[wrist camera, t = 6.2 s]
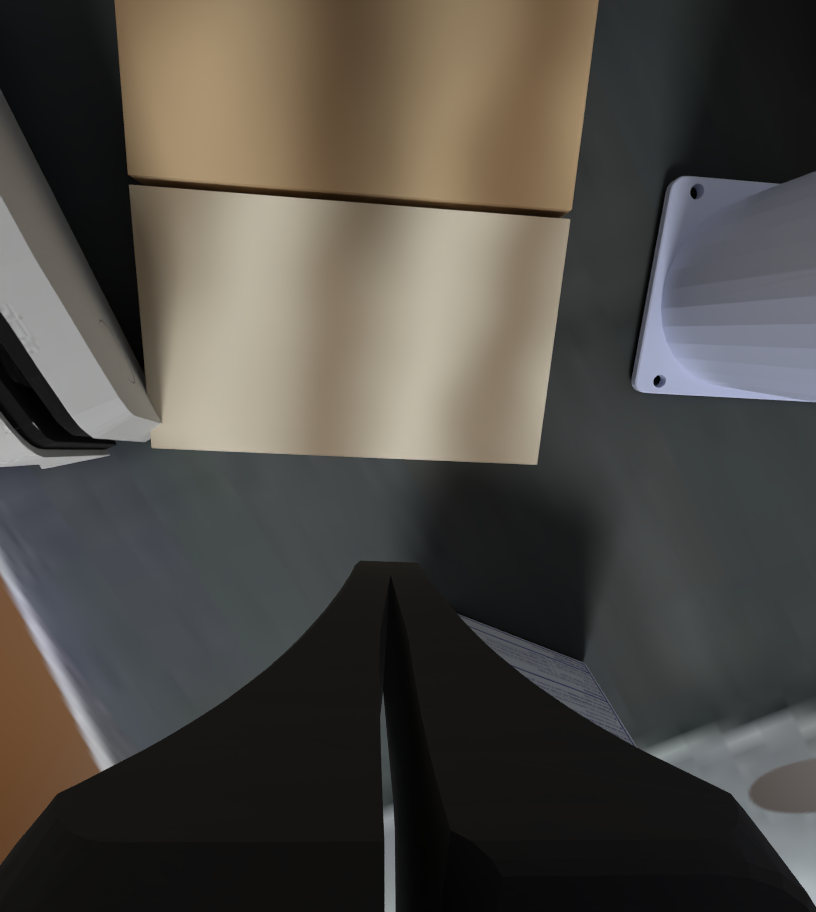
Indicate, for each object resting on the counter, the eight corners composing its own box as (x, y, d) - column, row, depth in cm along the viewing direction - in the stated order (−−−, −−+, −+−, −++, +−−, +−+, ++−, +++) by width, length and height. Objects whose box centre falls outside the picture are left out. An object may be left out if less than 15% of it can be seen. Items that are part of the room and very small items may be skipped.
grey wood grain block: (406, 675, 23) (419, 874, 14) (447, 602, 22) (486, 770, 13) (542, 725, 24) (627, 935, 16) (586, 658, 23) (701, 844, 15)
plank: (586, -33, 16) (608, -74, 14) (554, 221, 18) (571, 209, 16) (133, -85, 15) (104, -135, 13) (151, 190, 17) (127, 174, 15)
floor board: (554, 228, 18) (570, 219, 16) (525, 454, 20) (536, 464, 18) (152, 198, 17) (128, 184, 15) (170, 438, 19) (151, 448, 18)
